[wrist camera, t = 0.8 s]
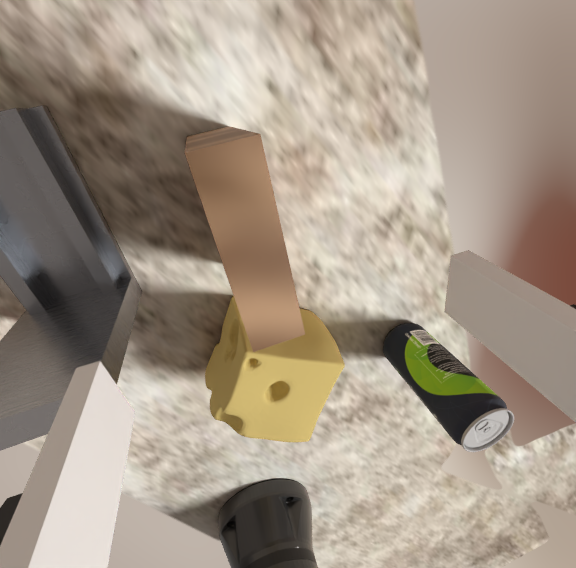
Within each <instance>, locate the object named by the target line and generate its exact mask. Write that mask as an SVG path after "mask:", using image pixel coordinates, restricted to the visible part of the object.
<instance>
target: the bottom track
mask: <svg viewBox="0 0 576 568" xmlns="http://www.w3.org/2000/svg"><path fill="white" fill-rule="evenodd" d="M0 276H1V277H2V279H3V280H4V281H5V282H6V284H7V285H8V286H9V288H10V289H11V290H12V292H13V293H14V294H15V296H16V297H17V298H18V300H19V301H20V302H21V303H22V305H23V306H24V307H25V309H26V311H25V312H24V314H23V315H22V316H21V317H20V318H19V319H18V321H17V322H16V323H15V324H14V325H13V327H12V328H11V329H10V330H9V331H8V332H7V334H6V335H5V336H4V337H3V338H2V340H1V341H0V450H3V449H6V448H9V447H12V446H15V445H17V444H20V443H23V442H26V441H29V440H32V439H35V438H37V437H40V436H43V435H46V434H48V433H49V431H50V428H51V426H52V424H53V421H54V419H55V417H56V414H57V412H58V410H59V407H60V405H61V403H62V400H63V398H64V395H65V393H66V391H67V388H68V386H69V384H70V381H71V379H72V377H73V374H74V372H75V370H76V368H78V367H81V366H85V365H88V364H91V363H95V362H98V361H101V363H102V364H103V366H104V367H105V369H106V370H107V372H108V373H109V374H110V376H111V377H112V379H113V380H114V382H115V383H116V384H117V382H118V378H119V374H120V371H121V367H122V363H123V360H124V356H125V352H126V349H127V345H128V341H129V338H130V334H131V330H132V327H133V323H134V319H135V316H136V312H137V308H138V305H139V301H140V297H141V294H142V290H141V288H140V286H139V285H138V283H137V281H136V279H135V277H134V275H133V273H132V271H131V269H130V267H129V265H128V263H127V261H126V259H125V257H124V255H123V253H122V252H121V250H120V248H119V246H118V244H117V242H116V240H115V238H114V236H113V234H112V232H111V230H110V228H109V226H108V224H107V222H106V221H105V219H104V217H103V215H102V213H101V211H100V209H99V207H98V205H97V203H96V201H95V199H94V197H93V195H92V193H91V191H90V190H89V188H88V186H87V184H86V182H85V180H84V178H83V176H82V174H81V172H80V170H79V168H78V166H77V164H76V162H75V160H74V159H73V157H72V155H71V153H70V151H69V149H68V147H67V145H66V143H65V141H64V139H63V137H62V135H61V133H60V131H59V129H58V127H57V126H56V124H55V122H54V120H53V118H52V116H51V114H50V112H49V110H48V108H47V106H38V107H33V108H29V109H22V108H14V109H9V110H5V111H0Z"/></svg>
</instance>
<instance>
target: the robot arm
mask: <svg viewBox="0 0 576 568" xmlns="http://www.w3.org/2000/svg"><path fill="white" fill-rule="evenodd" d="M444 312H445V313H447V314H448V315H449V316H450V317H451V318H453V319H454V320H455V321H456V322H457V323H458V324H460V325H461V326H462V327H463V328H464V329H466V330H467V331H468V332H469V333H470V334H472V335H473V336H474V337H475V338H476V339H477V340H479V341H480V342H481V343H482V344H483V345H485V346H486V347H487V348H488V349H489V350H490V351H492V352H493V353H494V354H495V355H496V356H498V357H499V358H500V359H501V360H502V361H503V362H505V363H506V364H507V365H508V366H509V367H511V368H512V369H513V370H514V371H515V372H516V373H518V374H519V375H520V376H521V377H523V378H524V379H525V380H526V381H527V382H528V383H530V384H531V385H532V386H533V387H534V388H535V389H537V390H538V391H539V392H540V393H541V394H543V395H544V396H545V397H546V398H547V399H549V400H550V401H551V402H552V403H553V404H555V405H556V406H557V407H558V408H559V409H560V410H561V411H563V412H564V413H565V414H566V415H567V416H569V417H570V418H571V419H572V420H573V421H575V422H576V305H574V304H573V305H570V306H569V305H567V304H565V303H563V302H562V301H560V300H558V299H556V298H554V297H553V296H551V295H549V294H547V293H545V292H543V291H542V290H540V289H538V288H536V287H534V286H533V285H531V284H529V283H527V282H525V281H523V280H522V279H520V278H518V277H516V276H514V275H513V274H511V273H509V272H507V271H505V270H504V269H502V268H500V267H498V266H496V265H494V264H493V263H491V262H489V261H487V260H485V259H484V258H482V257H480V256H478V255H476V254H474V253H472V252H471V251H469V250H468V251H464V252H461V253H458V254H454V255H451V259H450V268H449V277H448V285H447V294H446V302H445V311H444ZM134 417H135V410H134V409H133V408H132V406H131V405H130V403H129V402H128V400H127V399H126V397H125V396H124V395H123V393H122V392H121V390H120V389H119V387H118V386H117V384H116V383H115V382H114V380H113V379H112V377H111V376H110V374H109V373H108V372H107V370H106V369H105V367H104V366H103V364H102V363H101V361H98V362H95V363H91V364H88V365H85V366H81V367H78V368H76V370H75V372H74V374H73V377H72V379H71V381H70V384H69V386H68V388H67V391H66V393H65V395H64V398H63V400H62V403H61V405H60V407H59V410H58V412H57V414H56V417H55V419H54V421H53V424H52V426H51V428H50V431H49V433H48V435H47V438H46V440H45V442H44V445H43V447H42V449H41V452H40V454H39V456H38V459H37V461H36V463H35V466H34V468H33V471H32V473H31V475H30V478H29V480H28V482H27V484H26V487H25V489H24V492H23V493H22V494H19V495H16V496H13V497H10V498H7V500H6V501H5V502H4V504H3V505H2V506H1V508H0V568H108V563H109V557H110V552H111V546H112V540H113V535H114V529H115V524H116V518H117V512H118V507H119V501H120V496H121V490H122V485H123V479H124V473H125V468H126V462H127V457H128V451H129V445H130V440H131V434H132V429H133V423H134ZM218 527H219V536H220V540H221V543H222V545H223V548H224V551H225V553H226V556H227V558H228V561H229V563H230V566H231V568H318V567H317V563H316V560H315V556H314V553H313V548H312V509H311V503H310V499H309V496H308V493H307V490H306V488H305V487H304V486H303V485H302V484H300V483H298V482H296V481H293V480H286V479H277V480H270V481H265V482H261V483H258V484H255V485H253V486H250V487H248V488H246V489H244V490H242V491H241V492H239V493H237V494H236V495H235V496H233V497H232V498H231V499H230V500H229V501H228V502H227V503H226V504H225V505H224V506H223V508H222V509H221V511H220V513H219V516H218Z"/></svg>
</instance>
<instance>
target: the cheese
mask: <svg viewBox="0 0 576 568" xmlns="http://www.w3.org/2000/svg"><path fill="white" fill-rule="evenodd" d="M299 309H300V308H299ZM300 313H301V318H302V322H303V326H304V331H305V335H302V336H299V337H296V338H293V339H291V340H288V341H285V342H282V343H279V344H276V345H273V346H270V347H267V348H264V349H262V350H259V351H256V352H253V350H252V347H251V344H250V341H249V338H248V336H247V333H246V330H245V327H244V324H243V321H242V318H241V315H240V312H239V309H238V307H237V304H236V301H235V298H234V296H233V297H232V298H231V301H230V304H229V307H228V310H227V313H226V316H225V319H224V323H223V327H222V334H221V340H220V342H219V343H218V344H216V346H215V348H214V350H213V353H212V356H211V358H210V360H209V362H208V365H207V367H206V373H205V381H206V386H207V388H208V389H210V390H211V391H212V395H211V399H210V410H211V414H212V416H213V417H214V418H215V419H216V420H219V421H224V422H226V423H227V424H229V425H230V426H231V427H232V428H233V429H234V430H235V431H236V432H237V433H238V434H240V435H242V436H245V437H249V438H259V439H268V440H275V441H283V442H306V441H309V440H310V438H311V435H312V433H313V430H314V427H315V425H316V422H317V419H318V417H319V415H320V412H321V410H322V408H323V406H324V404H325V402H326V400H327V398H328V396H329V394H330V392H331V390H332V388H333V386H334V384H335V382H336V380H337V378H338V377H339V375H340V373H341V371H342V370H343V368H344V366H345V365H344V362H343V359H342V357H341V354H340V351H339V349H338V347H337V344H336V342H335V340H334V339H333V337H332V335H331V334H330V332H329V331H328V329H327V328H326V326H325V325H324V324H323V322H322V321H321V320H320V319H319V318H318V317H317V316H316V315H315V314H314V313H313V312H312V311H309V310H305V309H300Z"/></svg>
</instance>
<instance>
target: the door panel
mask: <svg viewBox="0 0 576 568" xmlns="http://www.w3.org/2000/svg"><path fill="white" fill-rule="evenodd" d="M185 156H186V159H187V162H188V164H189V167H190V170H191V173H192V176H193V179H194V182H195V185H196V188H197V191H198V193H199V196H200V199H201V202H202V205H203V208H204V211H205V214H206V217H207V220H208V222H209V225H210V228H211V231H212V234H213V237H214V240H215V243H216V246H217V249H218V251H219V254H220V257H221V260H222V263H223V266H224V269H225V272H226V275H227V278H228V280H229V283H230V286H231V289H232V292H233V295H234V298H235V301H236V304H237V307H238V309H239V312H240V315H241V318H242V321H243V324H244V327H245V330H246V333H247V336H248V338H249V341H250V344H251V347H252V350H253V352H256V351H259V350H262V349H264V348H267V347H270V346H273V345H276V344H279V343H282V342H285V341H288V340H291V339H293V338H296V337H299V336H302V335H305V331H304V326H303V322H302V318H301V313H300V309H299V304H298V300H297V295H296V291H295V286H294V282H293V278H292V273H291V269H290V264H289V260H288V255H287V251H286V246H285V242H284V238H283V233H282V229H281V224H280V220H279V215H278V211H277V206H276V202H275V198H274V193H273V189H272V184H271V180H270V175H269V171H268V166H267V162H266V158H265V153H264V149H263V144H262V140H261V135H260V134H258V133H254V132H250V131H246V130H242V129H237V128H233V127H229V126H228V127H224V128H220V129H216V130H211V131H207V132H203V133H199V134H195V135H191V136H187V139H186V146H185Z"/></svg>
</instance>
